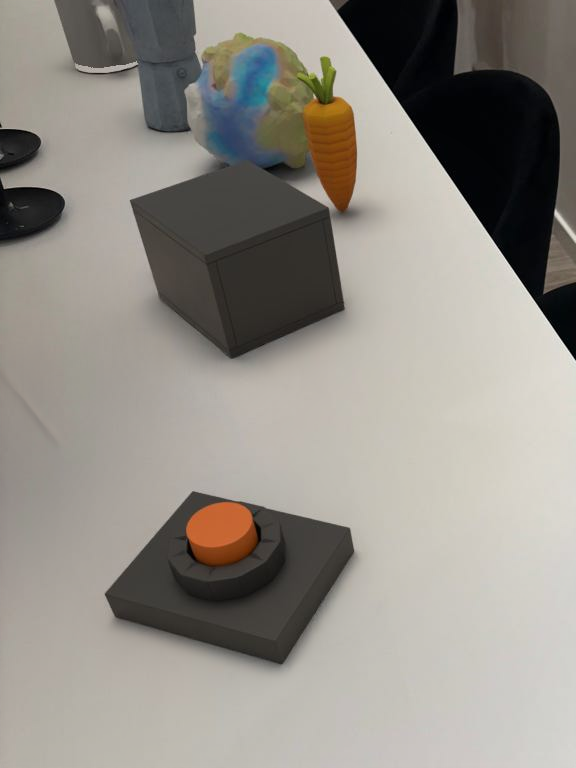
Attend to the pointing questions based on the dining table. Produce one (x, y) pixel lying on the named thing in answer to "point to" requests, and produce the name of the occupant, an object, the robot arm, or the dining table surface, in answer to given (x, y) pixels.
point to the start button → (222, 534)
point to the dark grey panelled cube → (240, 255)
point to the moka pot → (163, 57)
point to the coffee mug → (95, 33)
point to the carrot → (331, 136)
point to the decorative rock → (250, 103)
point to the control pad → (235, 582)
